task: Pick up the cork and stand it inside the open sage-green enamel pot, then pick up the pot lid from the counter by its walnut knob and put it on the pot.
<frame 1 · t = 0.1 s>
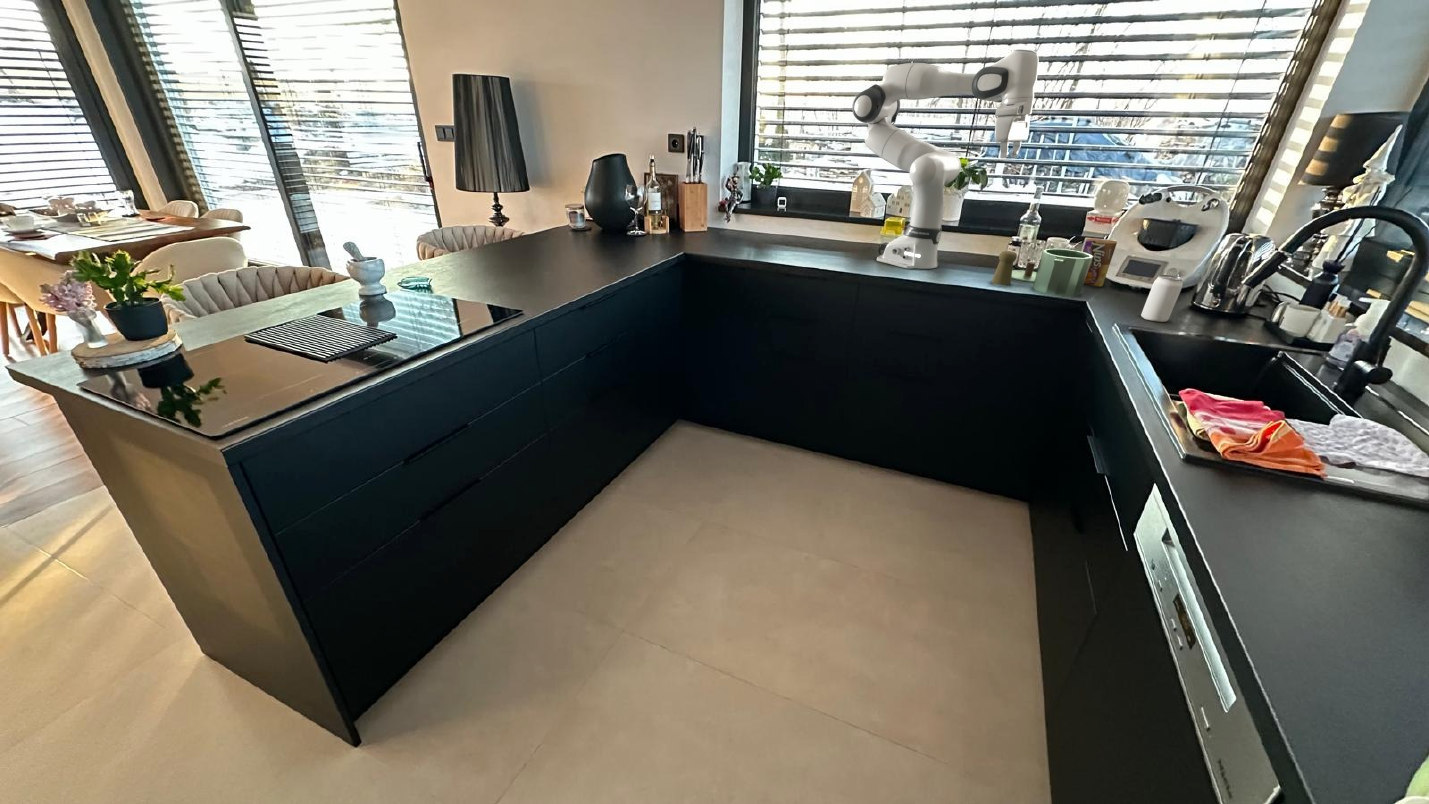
hand: (1008, 157, 179), 39 cm above the counter, tool pointing down, fingers open, 8 cm apart
pot: (1055, 291, 182), on the counter
can: (1153, 319, 159), on the counter
candy box: (1085, 285, 190), on the counter
lid: (1027, 277, 196), point 1 cm above the counter
cork: (1000, 284, 189), on the counter
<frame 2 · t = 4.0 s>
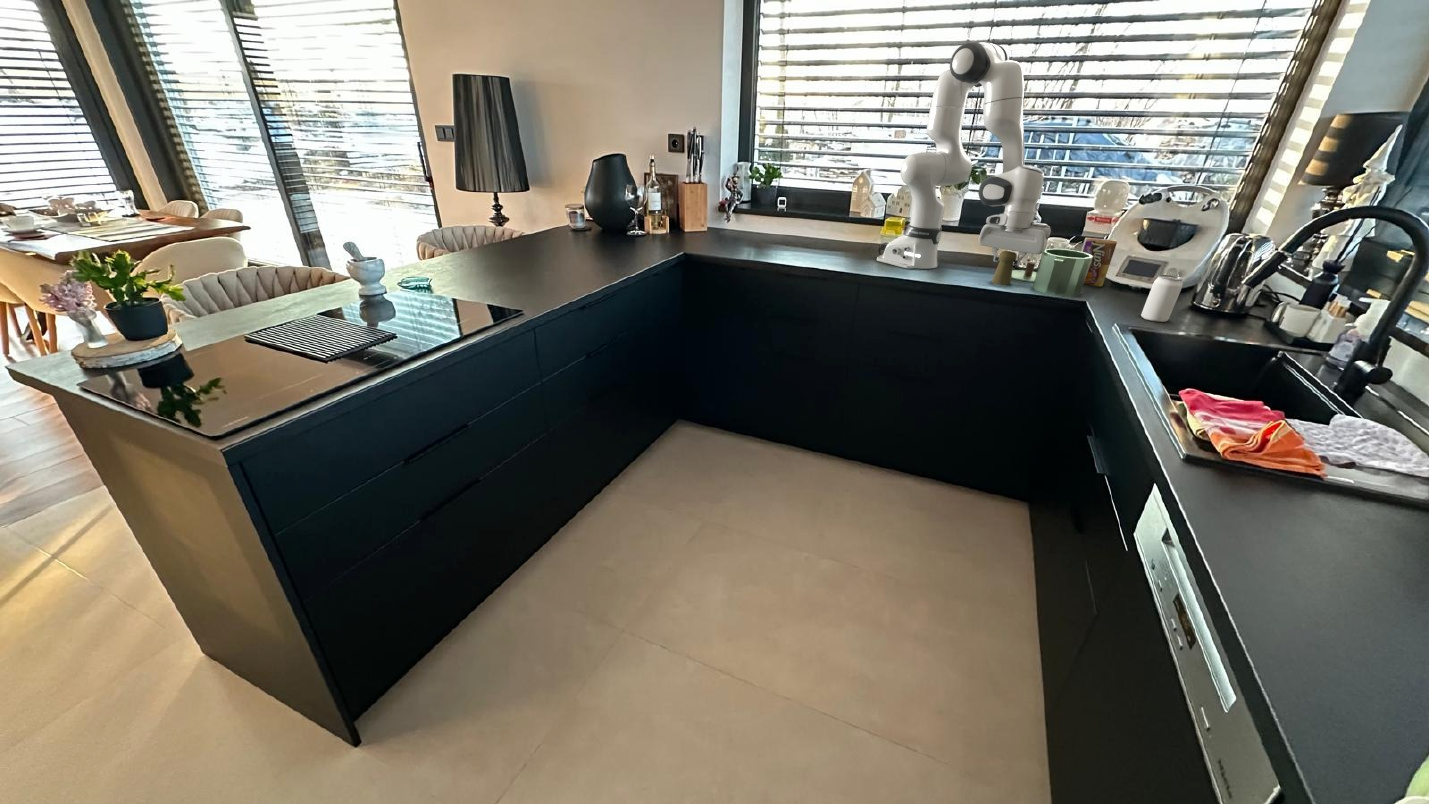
hand: (1005, 263, 185), 7 cm above the counter, tool pointing down, fingers closed on cork, 5 cm apart
cork: (1000, 284, 189), on the counter, touching gripper
everything else where it was.
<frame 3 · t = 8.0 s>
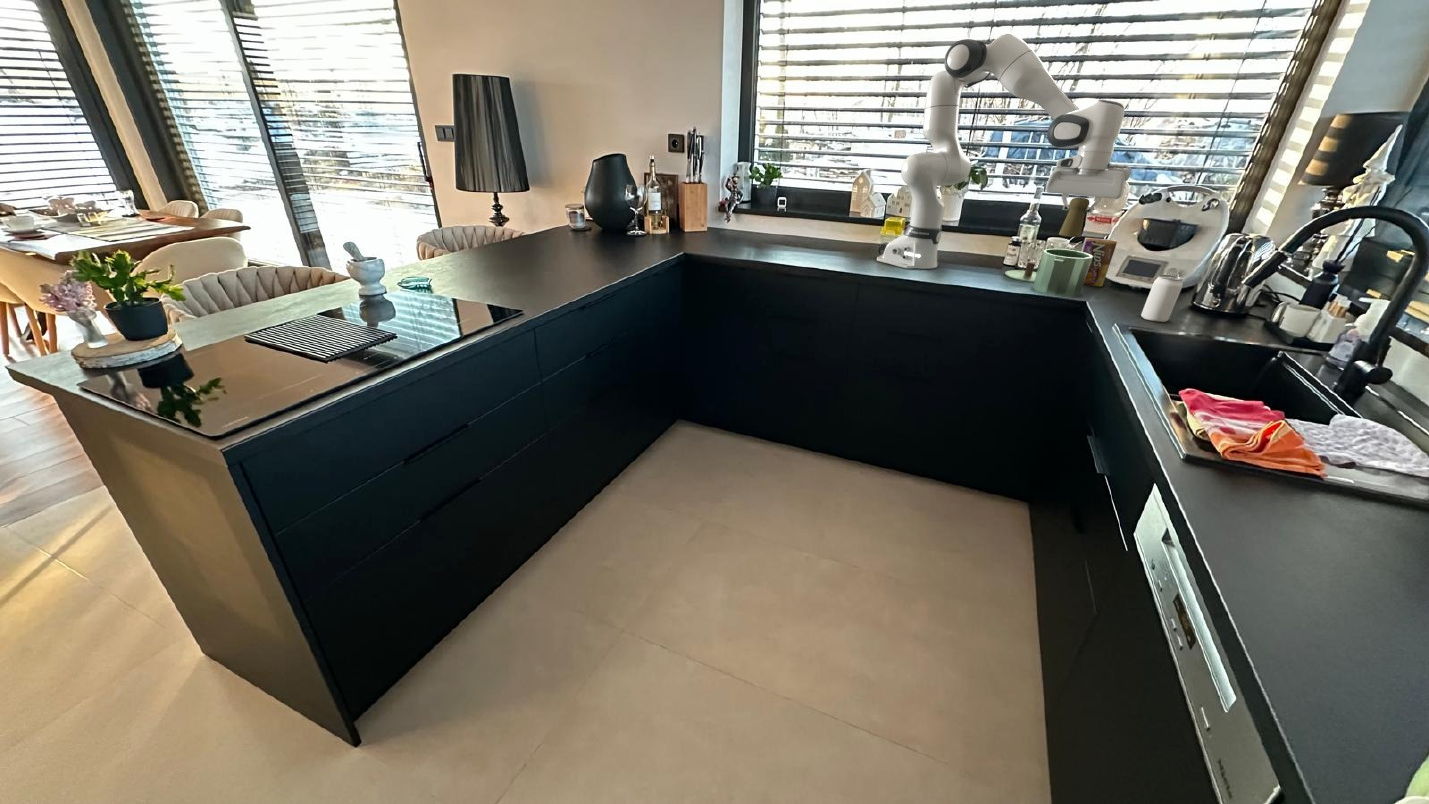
hand: (1076, 211, 170), 25 cm above the counter, tool pointing down, fingers closed on cork, 5 cm apart
cork: (1069, 235, 174), point 18 cm above the counter, touching gripper
everything else where it was.
when the fingers open (8 cm above the counter, at t = 13.1 s): cork stays where it is, resting on pot.
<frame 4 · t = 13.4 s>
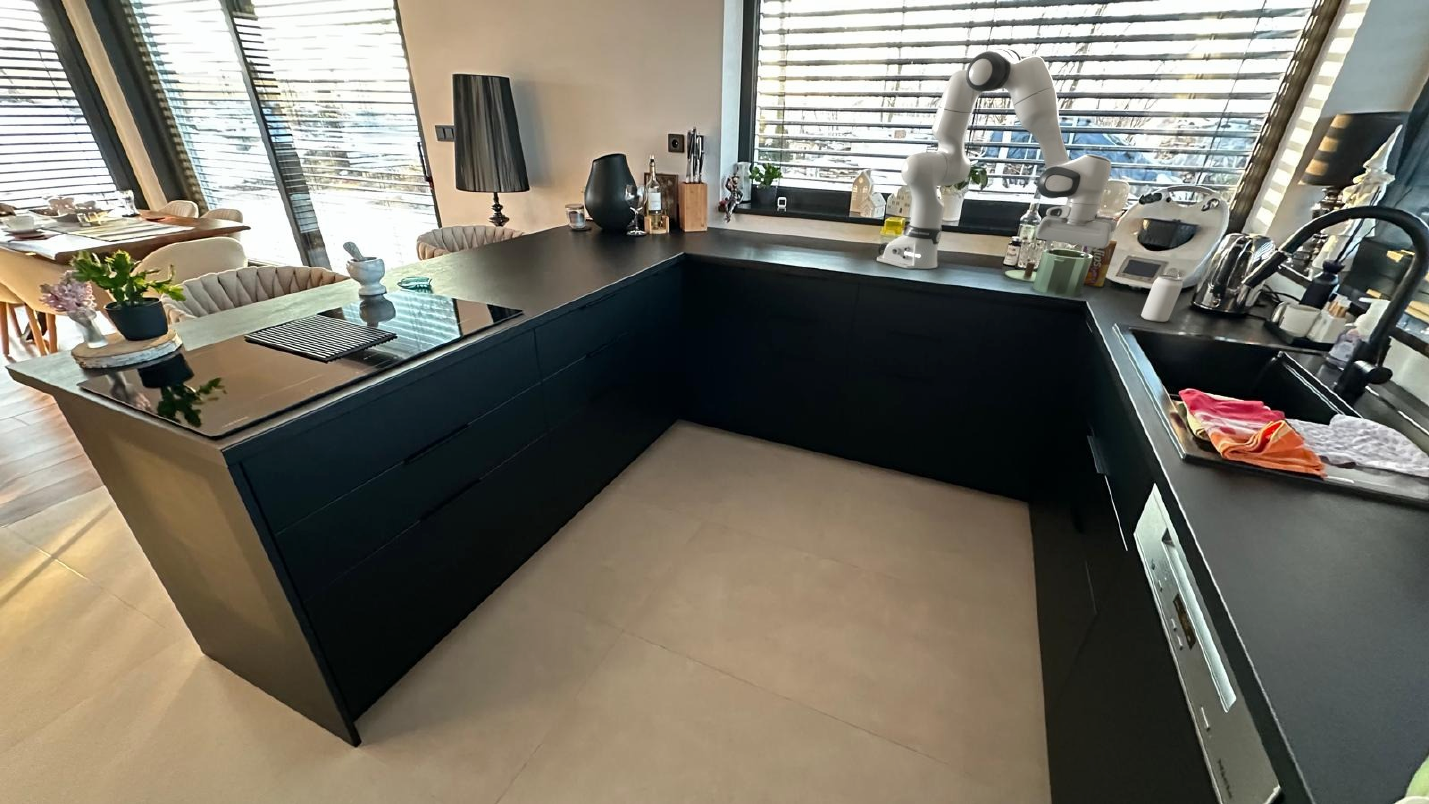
hand: (1065, 257, 177), 11 cm above the counter, tool pointing down, fingers open, 8 cm apart
cork: (1055, 291, 181), resting on pot
everything else where it was.
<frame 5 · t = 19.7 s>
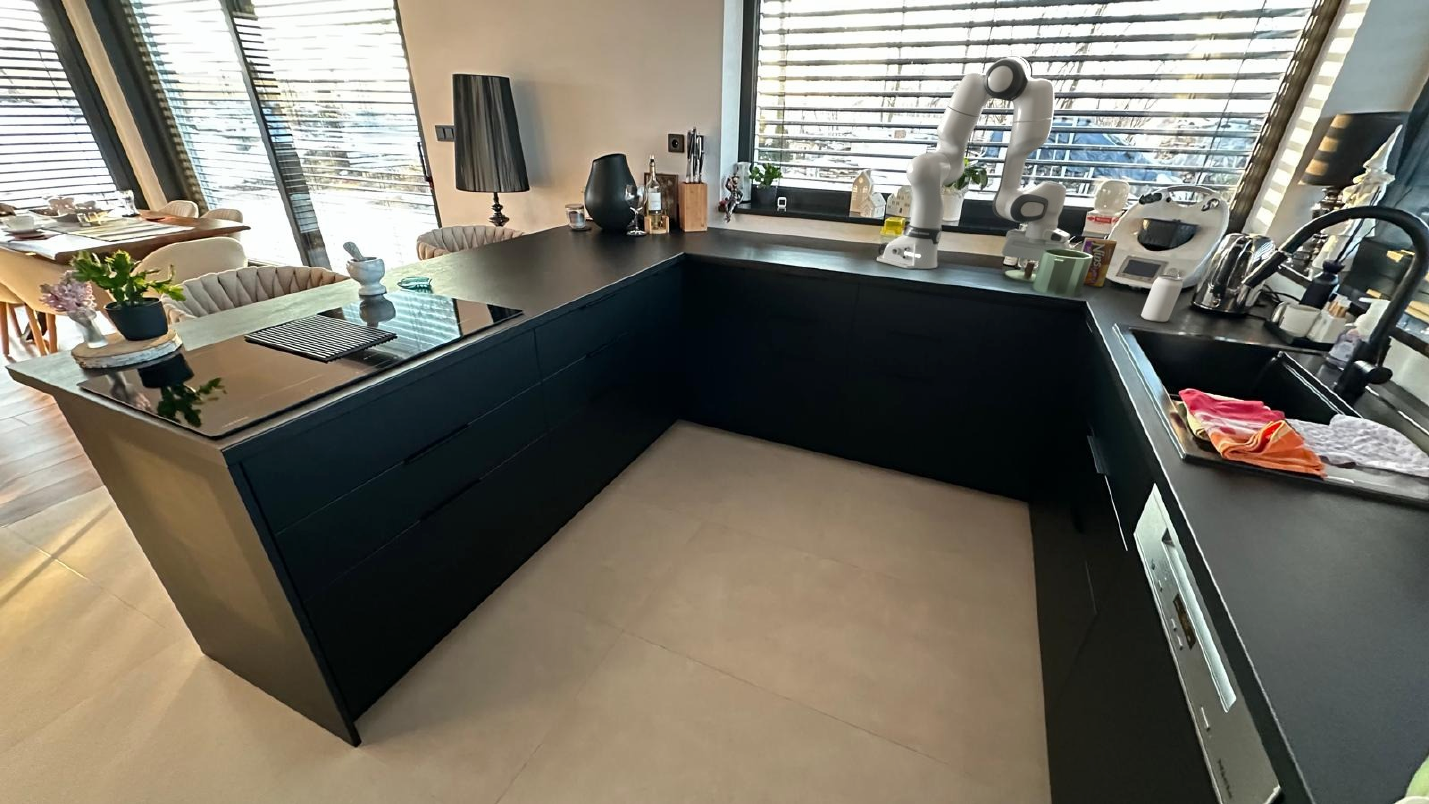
hand: (1028, 272, 195), 2 cm above the counter, tool pointing down, fingers closed on lid, 2 cm apart
lid: (1027, 276, 196), point 1 cm above the counter, touching gripper
everything else where it was.
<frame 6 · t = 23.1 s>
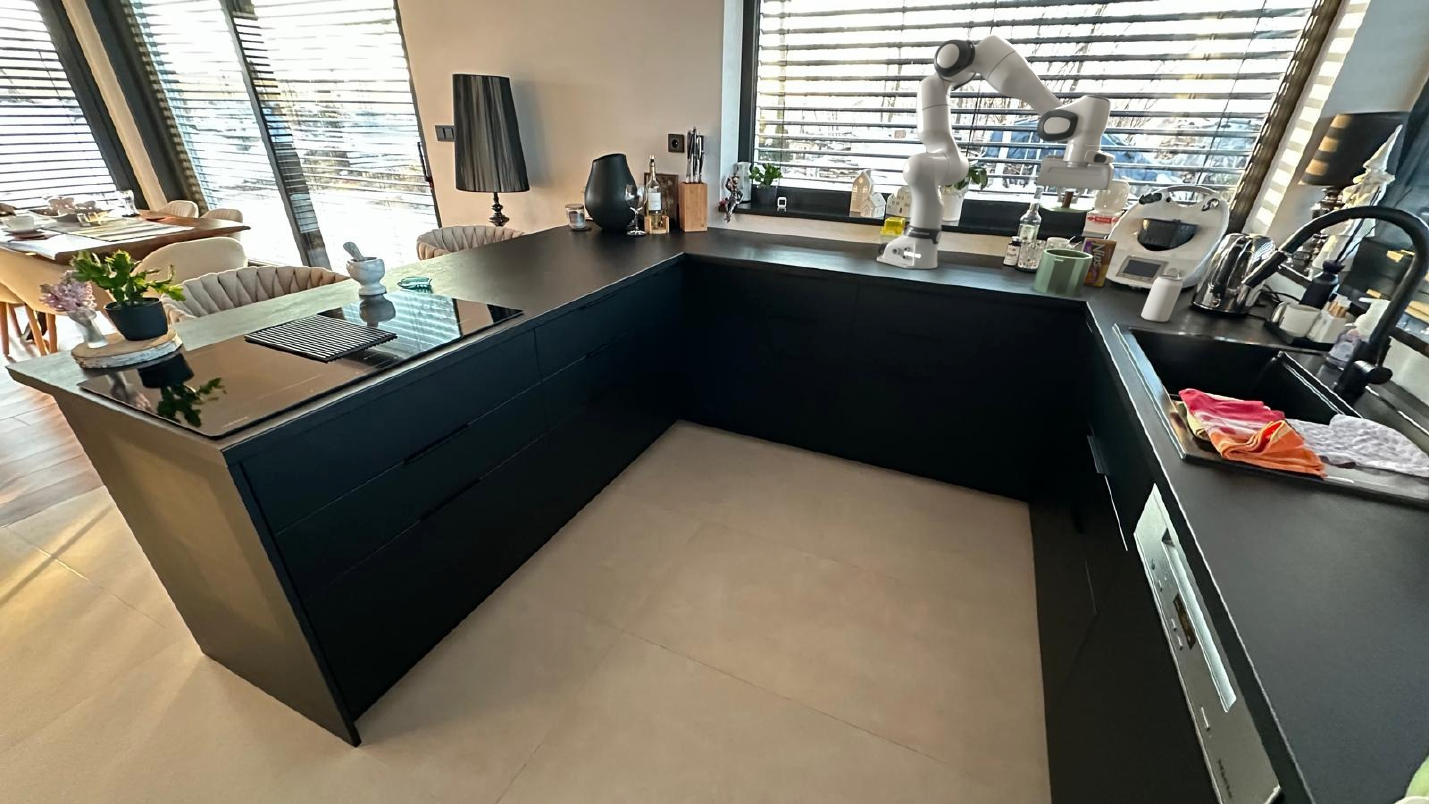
hand: (1066, 203, 176), 27 cm above the counter, tool pointing down, fingers closed on lid, 2 cm apart
lid: (1065, 208, 177), point 25 cm above the counter, touching gripper
everything else where it was.
when the fingers open (14 cm above the counter, at t = 26.9 s): lid stays where it is, resting on pot.
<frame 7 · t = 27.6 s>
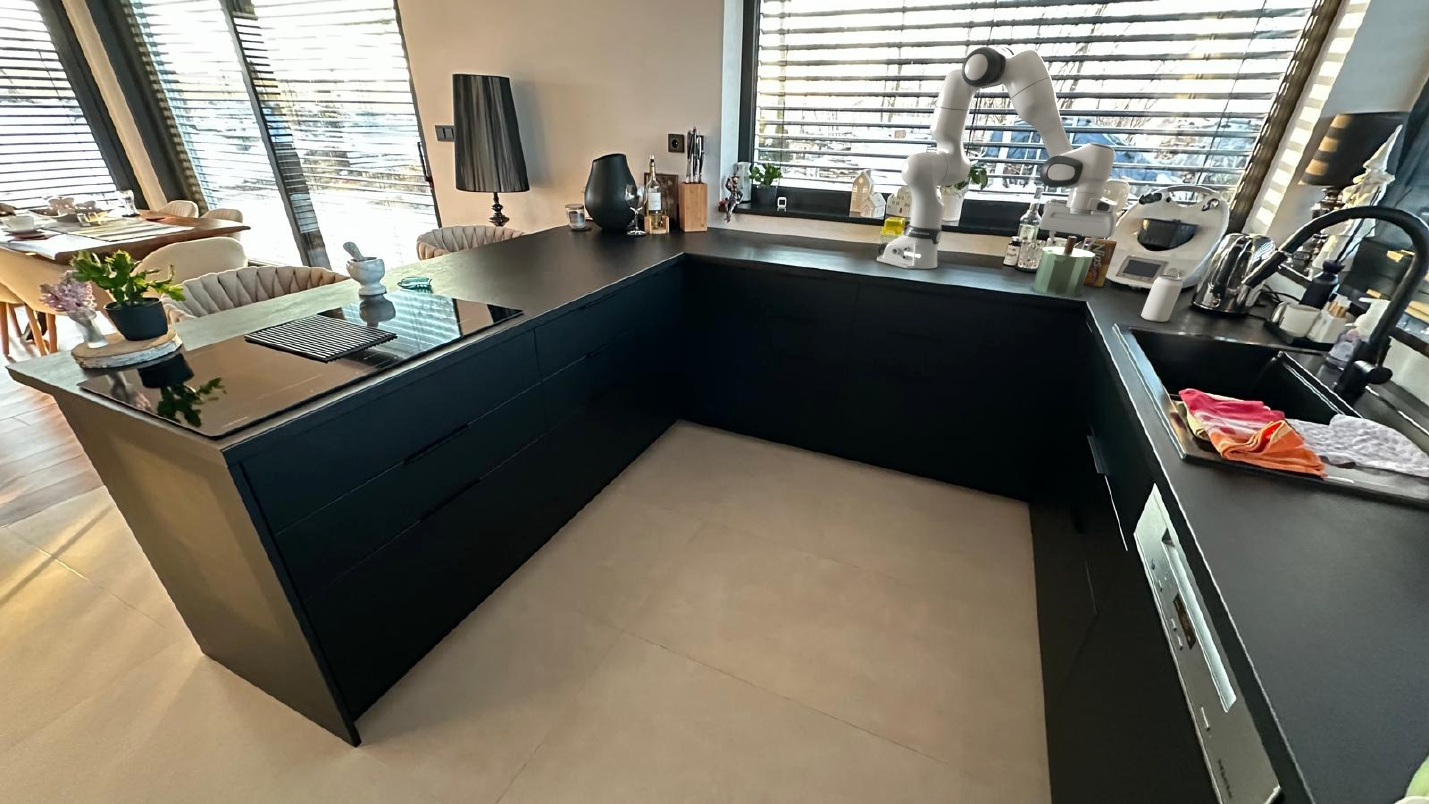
hand: (1069, 248, 175), 14 cm above the counter, tool pointing down, fingers open, 8 cm apart
lid: (1067, 253, 176), point 12 cm above the counter, touching pot
everything else where it was.
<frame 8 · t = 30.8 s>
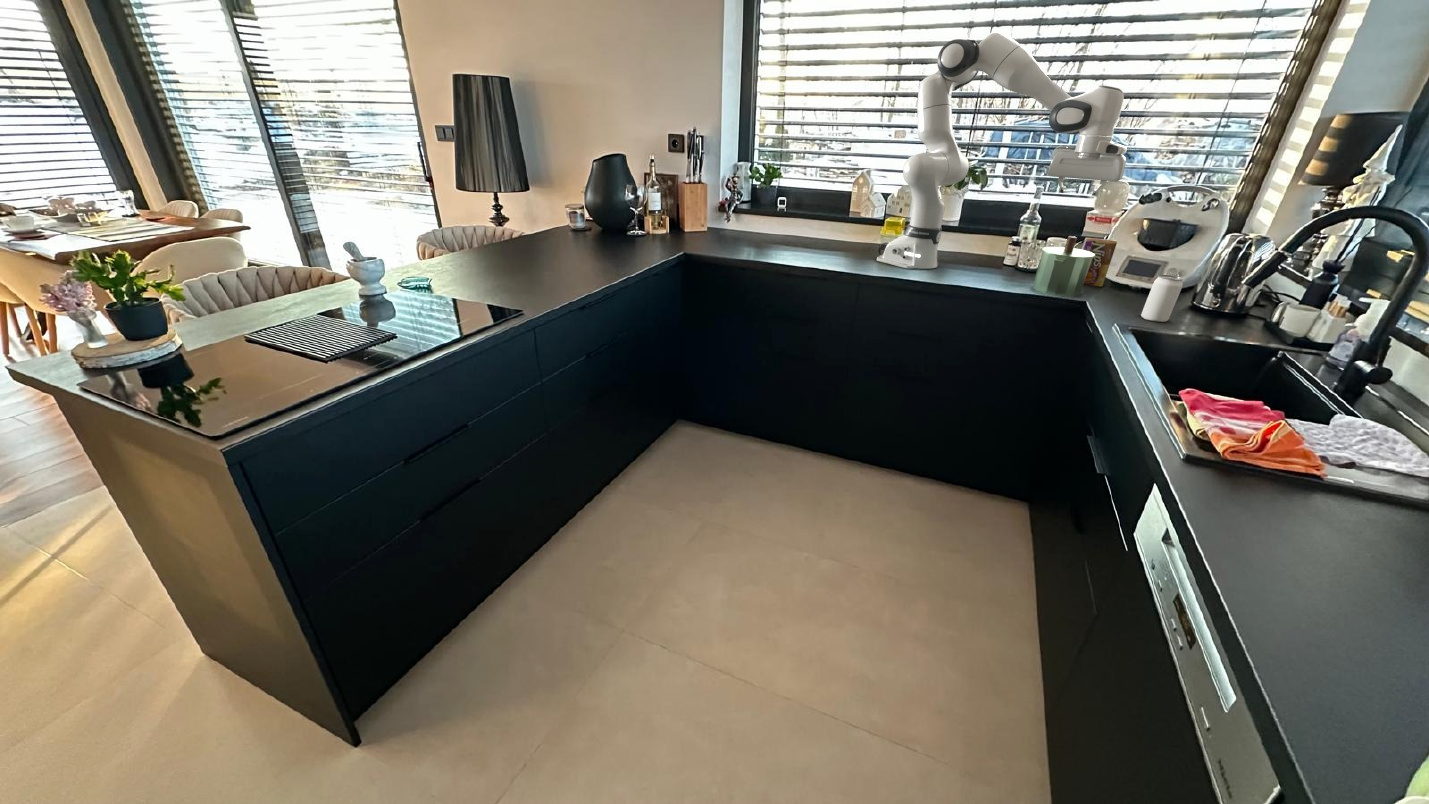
hand: (1077, 194, 176), 29 cm above the counter, tool pointing down, fingers open, 8 cm apart
nothing on the counter moved.
at the end: cork inside the target area in the pot (0.2 cm from its centre), point 0.3 cm above the pot's base; lid 0.0 cm off-centre on the pot, point 12.5 cm above the pot's base; lid tilted 0° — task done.
